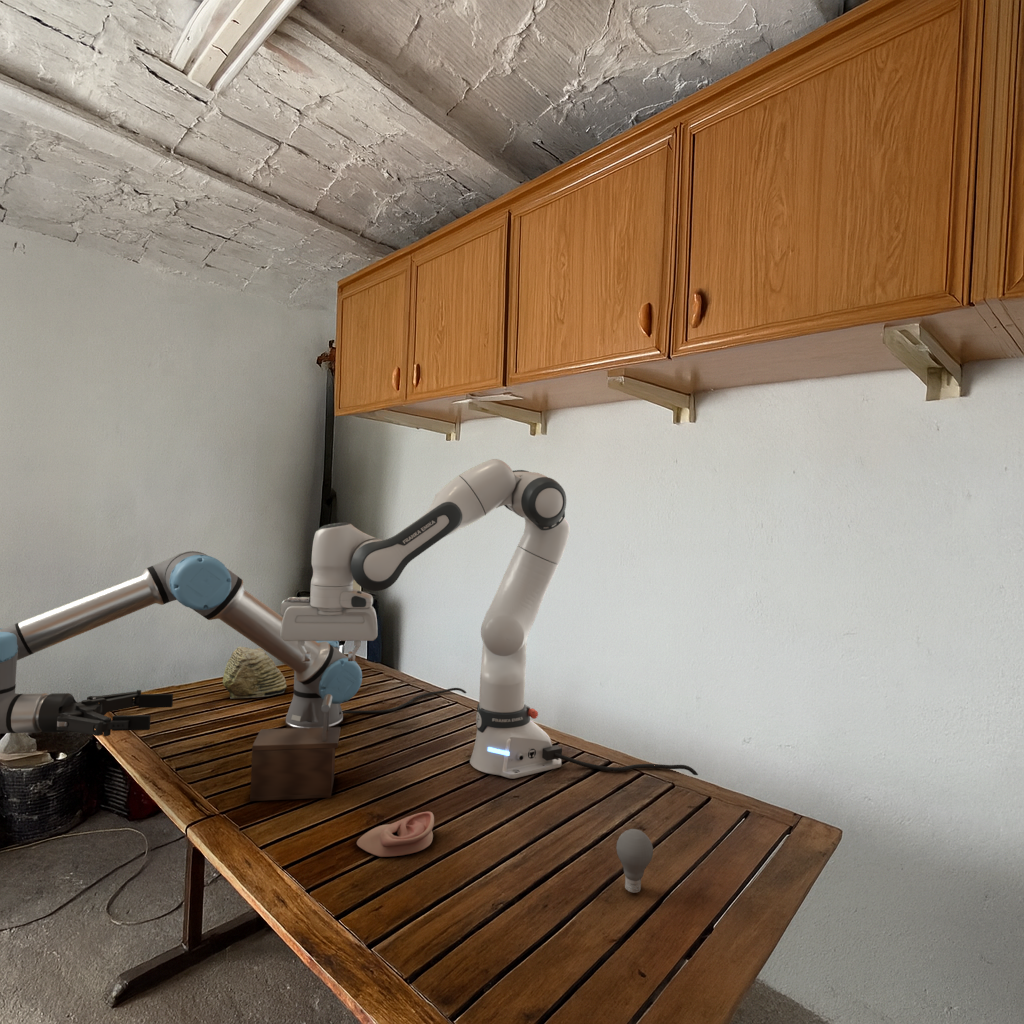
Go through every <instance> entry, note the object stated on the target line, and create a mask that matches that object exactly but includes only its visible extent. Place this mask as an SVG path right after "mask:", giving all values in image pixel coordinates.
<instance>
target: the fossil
mask: <svg viewBox="0 0 1024 1024" xmlns="http://www.w3.org/2000/svg"><path fill="white" fill-rule="evenodd" d="M222 676H223V677H222V685H223V687H224V688H225V690H226V691H228V693H229V698H230V699H250V698H264V697H271V696H275V695H281V694H284V693H285V691H286V689H287V687H288V686H287V680H286V678H285V676H284V674H283V673H282V672H281V669H279V668H278V667H277V665H276V663H275V662H274V660H273V659H272V658H271V657H270V656H269V655H268V654H267V653H266V651H265V650H264V649H262V648H261V647H258V648H251V647H247V646H246V647H245V646H238V647H237V648H236V649H235V650H233V651H232V653H231V656H230V657H229V659H228V660H227V663H226V666H225V668H224V671H223V675H222Z"/></svg>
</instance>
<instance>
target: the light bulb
mask: <svg viewBox="0 0 1024 1024" xmlns="http://www.w3.org/2000/svg"><path fill="white" fill-rule="evenodd" d="M615 849H616V854H617V857H618V859H619V861H620V863H621V865H622V867H623V873H624V874H623V875H624V876H625V878H624V888H625V890H627V891H628V892H630V893H634V894H635V893H639V892H640V891H641V889H642V887H641V886H642V879H643V877H644V875H645V871H646V868H647V867H648V866H649V864H650V863H651V861H652V859H653V855H654V847H653V843H652V841H651V838H649V836H648V835H647V834H646V833H645V832H643V831H642V830H641V829H636V828H629V829H627V830H625V831H623V832H622V833H621V834H620V835H619V837H618V839H617V841H616V847H615Z"/></svg>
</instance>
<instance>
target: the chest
mask: <svg viewBox="0 0 1024 1024" xmlns="http://www.w3.org/2000/svg"><path fill="white" fill-rule="evenodd" d="M335 760H336V748H317V749H287V750H256V751H252V750H251V768H250V769H251V771H250V772H251V773H250V795H249V796H250V799H249V801H250V802H263V801H264V802H265V801H284V800H285V801H287V800H308V799H327V798H329V799H330V798H332V794H333V793H332V792H333V787H334V780H335V768H336V767H335V766H336V761H335Z"/></svg>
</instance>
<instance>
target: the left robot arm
mask: <svg viewBox="0 0 1024 1024" xmlns="http://www.w3.org/2000/svg"><path fill="white" fill-rule="evenodd" d="M174 601H177V602H178V603H180V604H181V605H182V606H184V607H185V608H189V609H191V610H193V611H194V612H196V613H197V614H199V615H200V616H202V617H203V618H204V619H206V620H207V621H212V620H219V621H221V622H223V623H224V624H225V625H227V626H229V628H231V629H233V630H234V631H236V632H238V633H239V634H240V635H242V636H243V637H245V638H246V639H248V640H249V641H251V642H252V643H253V644H255V645H256V646H258V648H261V649H263V650H264V652H267V653H268V654H269V655H271V656H272V657H274V658H275V659H277V660H278V661H280V662H281V663H282V664H284V665H286V666H287V667H288V668H290V669H291V670H293V671H294V672H293V673H294V674H293V695H292V696H293V697H292V699H291V702H290V704H289V708H288V711H287V713H286V715H285V726H286V728H287V729H292V728H323V717H324V713H323V712H322V711H321V707H322V703H323V700H324V697H325V695H327V694H330V695H332V697H333V698H332V702H331V707H330V710H329V728H330V727H340V725H342V723H343V722H344V715H347V714H349V715H350V714H351V715H352V714H353V715H355V714H384V713H390V712H394V711H397V710H400V709H402V708H404V707H407V706H408V705H411V704H412V703H413V702H415V701H417V700H418V699H421V698H424V697H428V696H431V695H440V694H445V693H448V692H453V691H458V692H462V693H463V694H467V693H468V692H467V691H466V690H465V689H463V688H460V687H451V688H447V689H442V690H438V691H432V692H426V693H423V694H419V695H417V696H414V697H413V698H411V699H410V700H408V701H407V702H404V703H402V704H400V705H397V706H395V707H392V708H387V709H378V710H343V709H342V706H341V704H344V703H347V702H348V701H350V700H351V699H352V698H354V696H356V694H357V693H358V692H359V690H360V688H361V686H362V683H363V672H362V668H361V667H360V665H359V664H358V662H357V661H356V660H355V661H348V655H346V654H344V653H343V652H341V650H340V641H306V643H305V645H304V647H305V649H306V651H307V652H311V655H310V657H311V658H310V661H307V662H303V654H302V653H301V651H300V649H299V647H298V641H284V640H283V639H282V638H281V626H282V620H283V616H282V615H281V614H279V613H278V612H276V611H275V610H274V609H272V608H271V607H269V606H268V605H267V604H265V603H264V602H262V601H261V600H259V599H258V598H257V597H256V596H254V595H253V594H252V593H250V592H248V591H247V590H246V589H245V587H244V579H242V578H241V577H240V576H238V575H237V574H236V573H234V572H233V571H231V569H229V568H228V567H227V566H226V565H225V564H224V563H223V562H222V561H221V560H220V559H218V558H216V557H213V556H211V555H208V554H206V553H204V552H200V551H195V550H188V551H184V552H180V553H178V554H176V555H173V556H171V557H169V558H167V559H165V560H163V561H160V562H158V563H156V564H153V565H151V566H148V567H146V568H144V570H143V573H142V574H139V575H137V576H135V577H132V578H129V579H126V580H124V581H122V582H118V583H116V584H114V585H112V586H107V587H106V588H103V589H101V590H98V591H96V592H93V593H90V594H88V595H86V596H83V597H80V598H77V599H75V600H73V601H70V602H68V603H65V604H62V605H59V606H57V607H55V608H51V609H49V610H46V611H44V612H41V613H39V614H35V615H33V616H31V617H28V618H26V619H23V620H20V621H18V622H16V623H13V624H11V625H8V626H6V627H0V734H25V735H26V736H31V735H32V734H35V733H44V734H45V733H46V734H48V733H49V734H50V733H63V732H64V733H65V732H72V733H79V734H84V735H91V736H96V737H100V736H103V737H109V736H111V733H112V732H119V731H122V732H124V731H149V730H150V729H151V714H132V715H131V714H129V715H127V714H126V715H113V716H112V718H111V717H110V716H106V715H107V713H111V712H115V711H120V710H126V709H131V708H134V707H138V709H143V708H145V709H146V708H147V709H149V708H151V709H153V708H172V707H173V706H174V705H173V704H174V703H173V702H174V693H142V690H141V689H136V691H135V690H134V691H126V692H119V693H110V694H103V695H88V696H87V697H86V699H82V700H81V701H76V699H75V697H74V695H73V694H72V693H70V692H69V693H68V692H61V693H60V692H58V693H55V692H54V693H50V694H49V693H47V692H43V693H41V692H40V693H39V692H38V693H36V692H35V693H16V687H17V682H16V681H17V662H18V661H20V660H22V659H24V658H27V657H29V656H31V655H33V654H35V653H38V652H41V651H43V650H45V649H49V648H50V647H52V646H55V645H57V644H58V645H59V644H60V643H62V642H65V641H66V640H70V639H72V638H74V637H76V636H80V635H82V634H84V633H87V632H89V631H92V630H94V629H96V628H100V627H101V626H104V625H106V624H109V623H111V622H114V621H115V620H118V619H121V618H123V617H125V616H127V615H131V614H132V613H135V612H138V611H140V610H142V609H145V608H147V607H150V606H152V605H154V604H155V605H160V606H163V605H166V604H168V603H171V602H174ZM111 731H112V732H111Z"/></svg>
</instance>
